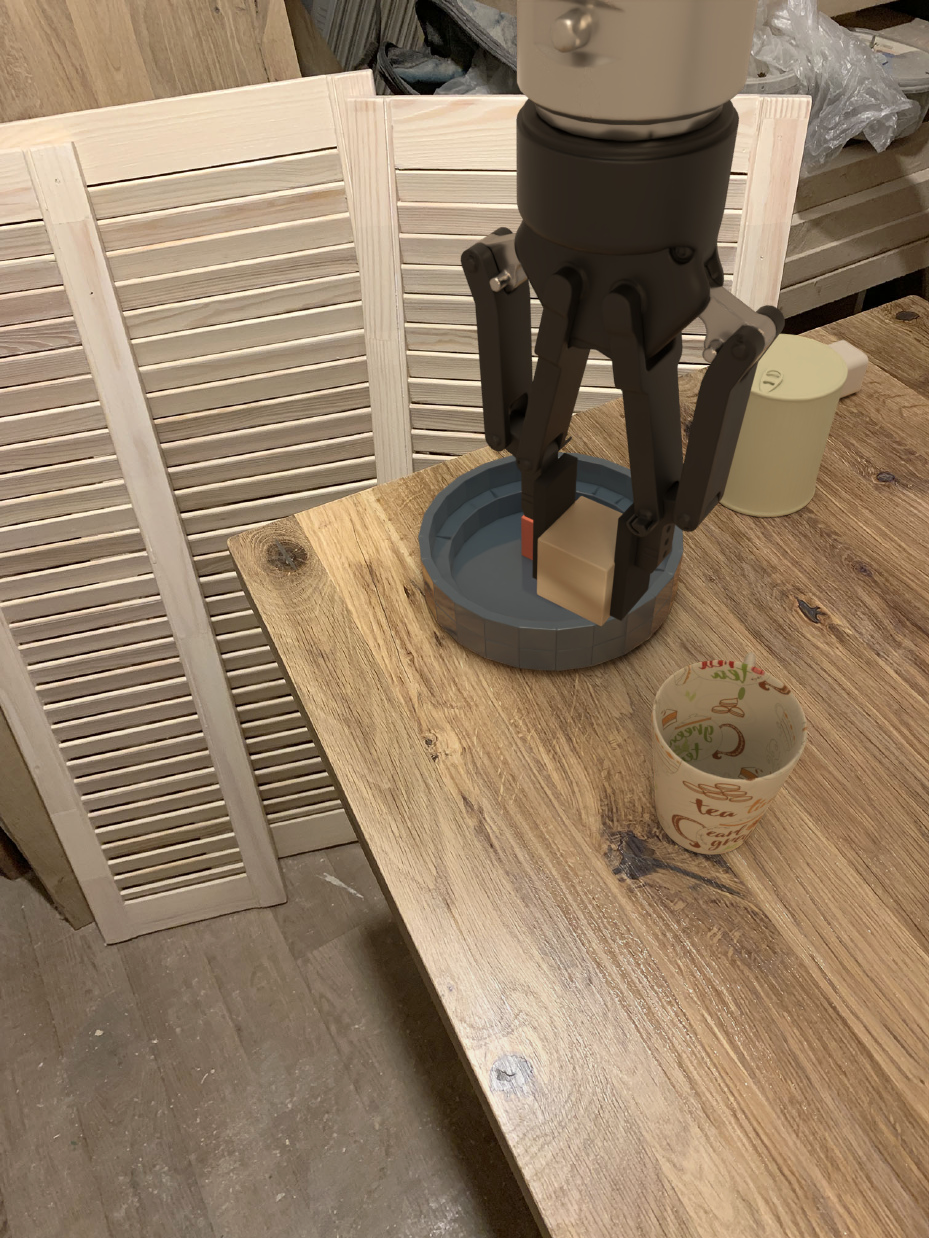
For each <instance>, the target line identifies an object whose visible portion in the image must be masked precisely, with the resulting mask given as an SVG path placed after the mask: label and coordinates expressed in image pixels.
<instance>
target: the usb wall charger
mask: <svg viewBox="0 0 929 1238" xmlns="http://www.w3.org/2000/svg"><path fill="white" fill-rule="evenodd" d="M826 345H827V346H829V347H831V348H832V349H834V350H835V351H836V352H837V353H839V354H840V355H841V357H842V358H843V359H844V361H845V362H846V365H847V368H848V375H847V379H846V381H845V383H844V386H843V389H842V392H841V395H840V398H839V399H841V398H844V397H847V396H850V395H852V394H855V393H857V392H859V391H861V389H862V386H863V383H864V379H865V376H866V372H867V370H868V366H869V357H868V355H867V354H866V353H865V352H863V351H862V350H860V349H859V348H858V347H856V346H854V345H853V344H851V343H850V342H849V341H847V340H845V339H840V340H837V341H835V342H832V343H830V344H829V343H828V344H826Z"/></svg>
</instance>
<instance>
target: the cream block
mask: <svg viewBox="0 0 929 1238" xmlns="http://www.w3.org/2000/svg"><path fill="white" fill-rule="evenodd" d="M621 515H622V513H620V512H618V511H615V510H613V509H611V508H609V507H606V506H604V505H602V504H599V503H597V502H595V501H592V500H590V499H588V498H585V497H583V496H581V497H580V498H579V499H578V500H577V501H576V502H575V503H574V504H573V505H572V506H571V507H569V508H568V509H567V510H566V511H565V512H564V513H563V514H562V515H561V516H560V517H559V518H558V519H557V520H556V521H555V522H554V523H553V524H552V525H551V526H550V527H549V528H548V529H547V530H546V531H545V532H544V533H543V534H542V535H541V536H540V537H539V538H538V561H537V594H538V595H539V596H541V597H543V598H545V599H547V600H549V601H551V602H553V603H555V604H557V605H559V606H561V607H563V608H565V609H567V610H569V611H571V612H573V613H575V614H577V615H579V616H581V617H583V618H585V619H587V620H589V621H591V622H593V623H595V624H597V625H599V626H602V625H603V624H604V623H605V622H606V621H607V620H608V619H609V617H610V606H611V596H612V587H613V577H614V567H615V563H614V556H615V546H616V536H617V526H618V518H619V517H620V516H621Z"/></svg>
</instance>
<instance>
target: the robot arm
mask: <svg viewBox="0 0 929 1238" xmlns="http://www.w3.org/2000/svg"><path fill="white" fill-rule="evenodd" d="M758 4H759V0H516V84H517V86H518V88H519V91H520V92H521V93H522V94H523V95H524V96H525V97H526V98H527V99H526V100H525V102H524V104H523V105H522V107H520V109H519V110H518V112H517V114H516V120H515V121H516V122H515V123H516V124H515V127H516V130H515V131H516V133H515V134H516V135H515V136H516V138H515V139H516V140H515V142H516V143H515V145H516V148H515V149H516V150H515V151H516V152H515V153H516V154H515V155H516V157H515V158H516V165H515V166H516V205H517V211H518V213H519V215H520V217H521V219H522V220H521V222H520V224H519V226H518V227H517V230H516V231H515V232H513V231H512V230H511V229H510V228H508V227H506V226H500V227H499V228H497V229H494V231H492V232H490V233H489V234H488V235H486V236H484V237H483V238H482V239H480V240H478V241H477V242H476V243H474V244H473V245H471V246H470V247H467V248H466V249H465V250H464V251H462V253H461V254H460V264H461V268H462V272H463V273H464V277H465V280H466V283H467V285H468V288H469V291H470V295H471V296H472V300H473V303H474V305H475V306H474V309H475V310H474V311H475V322H476V336H477V347H478V348H477V349H478V350H477V351H478V363H479V377H480V378H479V379H480V390H481V403H482V415H483V416H482V419H483V429H484V431H483V432H484V439H485V442H486V444H487V446H488V447H489V448H490V449H491V450H493V451H494V452H498V453H501V452H503V451H504V450H505V451H506V452H508V453H509V454H510V455H513V456H514V457H515V458H516V464H517V467H518V468H519V470H520V471H521V491H522V493H521V498H522V499H521V508H522V510H523V513H524V516H525V517H527V518H530V519H532V520H533V572H532V578H534V579H536V580H537V561H538V538H539V537H540V536H541V535H542V534H543V533H544V532H545V531H546V530H547V529H548V528H549V527H550V526H551V525H552V524H553V523H554V522H555V521H556V520H557V519H558V518H559V517H560V516H561V515H562V514H563V513H564V512H565V511H566V510H567V509H568V508H569V507H571V506H572V505H573V504H574V503H575V497H576V480H577V462H578V458H577V457H574V456H572V455H570V454H567V453H568V452H567V453H564V454H563V455H562V456H561V457H559V458H558V452H561V450H562V449H563V448H565V446H566V445H568V444H569V443H570V442H571V441H572V439H573V436H571V435H570V436H569V437H568V435H569V434H568V432H569V429H570V425H571V422H572V417H573V414H574V411H575V408H576V405H577V404H576V403H577V399H578V396H579V392H580V388H581V385H582V382H583V378H584V375H585V371H586V368H587V364H588V360H589V357H590V353H591V350H594V351H597V352H598V353H600V354H602V355H603V356H604V357H606V358H608V359H609V360H611V365H612V366H611V367H612V377H613V384H614V387H615V389H617V390H620V391H621V394H622V404H623V405H622V406H623V414H624V424H625V430H626V431H625V433H626V442H627V443H626V444H627V453H628V462H629V469H630V472H631V482H632V491H633V501H634V502H633V503H632V505H631V506H630V507H629V508H628V509H627V510H626V511H625V512H624V513H623V514H622V515H621V516H620V517H619V518H618V526H617V536H616V546H615V556H614V563H615V567H614V577H613V587H612V596H611V606H610V616H612V617H614V618H616V619H618V620H620V621H622V620H623V619H624V617H625V616H626V615H627V614H628V613H629V612H630V610H631V609H632V608H633V607H634V606H635V605H636V603H637V602H638V601H639V600H640V599H641V597H642V596H643V595H644V594H645V593H646V592H647V590H648V588H649V581H650V574H652V573H653V572H654V570H655V569H656V568H657V567H658V566H659V565H660V563H661V562H662V561H663V560H664V559H665V558H666V556H667V555H668V554H669V553H670V552H671V548H672V542H673V535H674V530H675V525H676V526H677V527H678V528H680V529H681V530H683V532H687V533H691V532H694V531H695V530H697V529H698V527H699V526H700V525H701V524H703V523H702V522H704V520H705V519H706V518H708V516H709V514H710V513H712V511H713V510H714V509H715V508H716V506H717V505H718V504H720V503H719V502H720V500H721V499H722V497H723V495H724V491H725V488H726V484H727V480H728V476H729V472H730V468H731V465H732V461H733V457H734V453H735V449H736V446H737V442H738V438H739V434H740V430H741V426H742V423H743V419H744V415H745V411H746V407H747V403H748V400H749V396H750V392H751V388H752V384H753V381H754V377H755V373H756V369H757V365H758V362H759V360H760V359H761V358H762V356H763V355H764V354H765V352H766V351H767V350H768V349H769V347H770V346H771V345H772V343H773V342H774V341H775V339H776V338H777V337H778V335H779V334H782V331H783V330H784V328H785V326H786V325H785V324H786V319H785V316H784V314H783V311H781V310H780V309H779V308H778V307H777V306H775V305H771V304H770V305H769V304H765V305H762V306H760V307H759V308H758V309H757V310H756V311H755V310H754V309H753V308H752V307H750V306H749V305H747V304H746V303H745V302H743V301H742V300H741V299H740V298H738V297H737V296H736V295H735V294H734V293H732V292H730V291H729V290H728V289H727V288H725V287H724V283H725V271H724V267H723V265H722V261H721V259H720V255H719V249H718V248H719V247H718V239H719V234H720V229H721V227H722V223H723V218H724V213H725V210H726V205H727V204H726V203H727V197H728V193H729V187H730V186H729V185H730V179H731V173H732V166H733V160H734V156H735V155H734V154H735V149H736V142H737V136H738V129H739V122H740V116H739V112H738V111H737V108H736V107H735V106H734V104H733V102H732V99H734V98H735V97H736V96H738V94H739V93H740V92H742V91H743V90H744V88H745V85H746V82H747V80H748V73H749V66H750V60H751V52H752V46H753V39H754V34H755V33H754V32H755V25H756V19H757V12H758ZM531 288H532V289H533V291H534V293H535V295H536V298H537V299H538V301H539V303H540V305H541V306H542V312H541V317H540V322H539V326H538V329H537V330H538V331H537V335H536V339H535V345H534V350H533V345H532V344H533V340H532V338H533V337H532V304H531V303H532V302H531V299H532V298H531ZM697 318H699V320H700V321H702V323H703V325H704V327H705V337H704V341H703V348H704V349H703V351H702V353H701V355H702V356H701V357H702V358H703V360H704V361H705V362H706V363H708V364H709V365H708V367H707V368H706V371H704V375H703V376H702V379H701V381H700V385H699V387H698V392H697V397H696V402H695V407H694V412H693V416H692V421H691V426H690V430H689V434H688V440H687V444H686V449H685V453H683V435H682V419H681V402H680V387H679V385H680V383H679V369H678V368H679V363H680V361H681V359H682V355H683V348H684V347H683V346H684V345H683V331H684V330H685V329H686V328H687V327H688V326H689V325H691V324H692V323H693V322H694V321H695V320H696V319H697ZM533 353H534V354H535V355H536V356H537V361H536V365H535V370H534V373H533ZM533 374H534V375H533ZM567 437H568V438H567Z"/></svg>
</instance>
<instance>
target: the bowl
mask: <svg viewBox="0 0 929 1238" xmlns="http://www.w3.org/2000/svg"><path fill="white" fill-rule="evenodd" d="M564 453H567V454H570V455H572V456H574V457H577V458H578V462H577V480H576V497H575V501H577V500H578V499H579V498H580V497H581V496H583V497H585V498H588V499H590V500H592V501H595V502H597V503H599V504H602V505H604V506H606V507H609V508H611V509H613V510H615V511H618V512H620V513H622V514H623V513H624V512H625V511H626V510H627V509H628V508H629V507H630V506H631V505H632V503H633V502H634V501H633V491H632V482H631V472H630V468H628V467H626V466H623V465H621V464H618V463H616V462H614V461H611V460H608V459H606V458H602V457H598V456H594V455H590V454H589V455H588V454H583V453H578V452H565V451H562V452H561V451H559V452H558V458H559V457H561V456H562V455H563V454H564ZM521 493H522V491H521V471H520V470H519V468H518V467H517V464H516V458H515V457H514V456H513V455H512V454H510V455H507V456H504V457H500V458H497V459H494V460H490V461H487V462H484V463H482V464H480V465H478V466H475V467H474V468H472V469H470V470H468V471H465V472H464V473H462V474H460V475H459V476H457V477H456V478H455V479H454V480H452V481H451V482H450V483H449V484H447V485H446V486H445V487H443V488H442V490H440V491H439V492H438V493H437V494H436V495H435V496H434V498H433V500H432V501H431V503H430V504H429V505H428V507H427V509H426V510H425V511H424V513H423V516H422V519H421V524H420V528H419V531H418V536H417V539H418V549H419V555H420V556H419V557H420V564H421V572H422V573H421V574H422V580H423V588H424V596H425V601H426V603H427V605H428V607H429V609H430V611H431V613H432V615H433V617H434V619H435V621H436V623H437V624H438V625H439V626H440V627H441V628H442V629H443V630H444V631H445V632H446V633H447V634H448V635H449V636H451V637H452V639H453V640H454V641H456V642H457V643H458V644H459V645H461V646H462V647H463V648H466V649H468V650H470V651H471V652H472V653H475V654H477V655H478V656H480V657H482V658H484V659H487V660H490V661H493V662H497V663H500V664H503V665H507V666H510V667H513V668H517V669H521V670H523V669H524V670H536V671H537V670H538V671H550V672H555V671H556V672H560V671H567V670H574V669H582V668H590V667H594V666H597V665H600V664H603V663H606V662H609V661H612V660H614V659H618V658H620V657H623V656H625V655H627V654H628V653H629V652H631V651H632V650H634V649H635V648H637V647H638V646H640V645H642V644H643V643H645V642H646V641H648V640H650V639H651V638H652V636H653V635H654V633H655V632H657V630H658V629H659V628H660V626H661V625H662V624H663V623H664V622H665V621H666V619H667V618H668V617H669V615H670V612H671V609H672V607H673V604H674V601H675V599H676V595H677V593H678V587H679V581H680V574H681V568H682V561H683V556H684V531H683V530H681V529H680V528H678V527H677V526H676V525H675V530H674V535H673V542H672V548H671V552H670V553H669V554H668V555H667V556H666V558H665V559H664V560H663V561H662V562H661V563H660V565H659V566H658V567H657V568H656V569H655V570H654V572H653V573H652V574H650V581H649V588H648V590H647V592H646V593H645V594H644V595H643V596H642V597H641V599H640V600H639V601H638V602H637V603H636V605H635V606H634V607H633V608H632V609H631V610H630V612H629V613H628V614H627V615H626V616H625V617H624V619H623V620H622V621H620V620H618V619H616V618H614V617H612V616H610V617H609V619H608V620H607V621H606V622H605V623H604V624H603V625H602V626H599V625H597V624H595V623H593V622H591V621H589V620H587V619H585V618H583V617H581V616H579V615H577V614H575V613H573V612H571V611H569V610H567V609H565V608H563V607H561V606H559V605H557V604H555V603H553V602H551V601H549V600H547V599H545V598H543V597H541V596H539V595H538V594H537V580H536V579H534V578H532V572H533V560H531V559H529V558H527V557H525V556H523V555H522V536H521V517H522V516H523V515H524V513H523V510H522V508H521V499H522V498H521Z"/></svg>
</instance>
